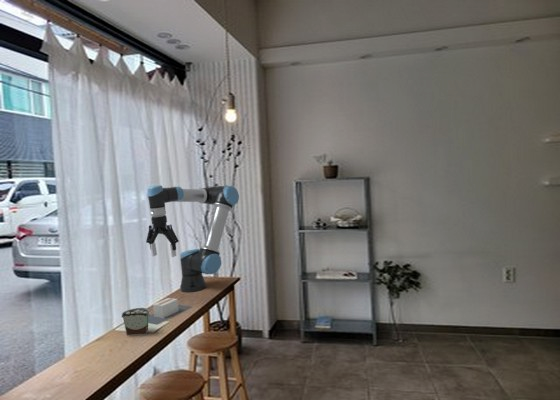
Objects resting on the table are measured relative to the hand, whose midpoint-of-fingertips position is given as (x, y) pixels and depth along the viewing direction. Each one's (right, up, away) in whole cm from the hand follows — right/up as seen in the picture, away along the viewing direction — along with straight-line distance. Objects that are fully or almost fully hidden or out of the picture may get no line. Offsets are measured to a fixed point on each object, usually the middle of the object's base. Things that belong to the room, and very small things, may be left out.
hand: (164, 256), depth 203 cm
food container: (-2, -30, -29) cm, 42 cm away
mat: (+4, -27, -10) cm, 29 cm away
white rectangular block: (+4, -27, -10) cm, 29 cm away
